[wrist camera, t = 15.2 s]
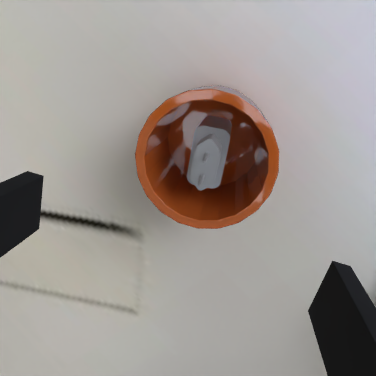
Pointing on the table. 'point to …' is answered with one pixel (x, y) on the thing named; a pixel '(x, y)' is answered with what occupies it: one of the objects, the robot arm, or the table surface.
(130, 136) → the table surface
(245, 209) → the orange flower pot
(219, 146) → the power adapter
